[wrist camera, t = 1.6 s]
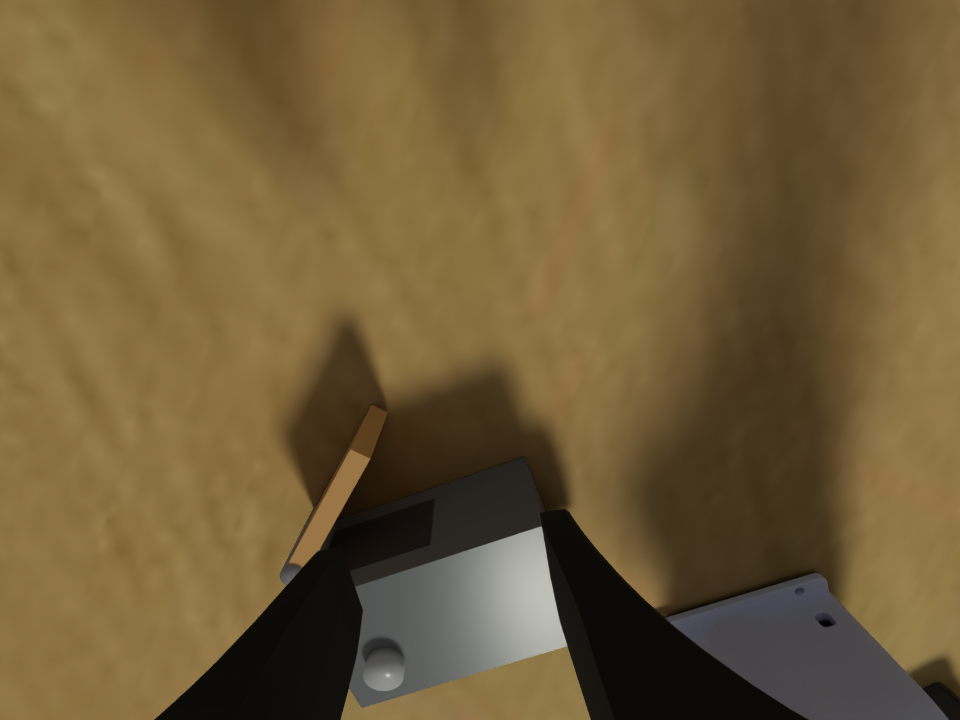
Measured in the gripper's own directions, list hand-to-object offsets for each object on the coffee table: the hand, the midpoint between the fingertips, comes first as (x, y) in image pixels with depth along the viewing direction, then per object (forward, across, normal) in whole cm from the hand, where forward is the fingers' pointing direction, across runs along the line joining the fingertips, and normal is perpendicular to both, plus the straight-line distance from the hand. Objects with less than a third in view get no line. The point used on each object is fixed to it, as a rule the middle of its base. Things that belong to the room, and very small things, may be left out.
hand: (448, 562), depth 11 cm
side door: (+10, +6, +2) cm, 11 cm away
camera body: (+10, +2, +7) cm, 12 cm away
